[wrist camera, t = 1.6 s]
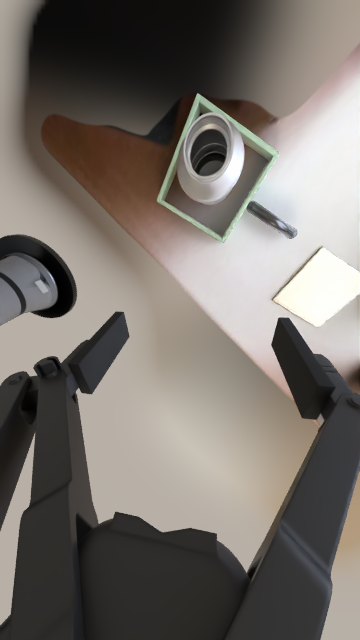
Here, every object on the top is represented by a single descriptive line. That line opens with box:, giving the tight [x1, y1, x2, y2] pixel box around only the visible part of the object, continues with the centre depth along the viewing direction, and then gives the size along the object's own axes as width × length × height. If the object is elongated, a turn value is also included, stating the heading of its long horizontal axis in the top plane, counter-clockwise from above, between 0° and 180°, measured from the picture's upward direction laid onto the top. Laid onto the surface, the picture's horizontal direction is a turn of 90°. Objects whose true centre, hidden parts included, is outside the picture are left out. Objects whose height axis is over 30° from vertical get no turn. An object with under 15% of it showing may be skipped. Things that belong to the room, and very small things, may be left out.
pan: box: [157, 93, 297, 243], centre depth 30 cm, size 23×13×3 cm, turn 62°
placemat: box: [273, 247, 360, 328], centre depth 36 cm, size 12×12×1 cm
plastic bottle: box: [177, 112, 244, 205], centre depth 22 cm, size 6×7×20 cm
